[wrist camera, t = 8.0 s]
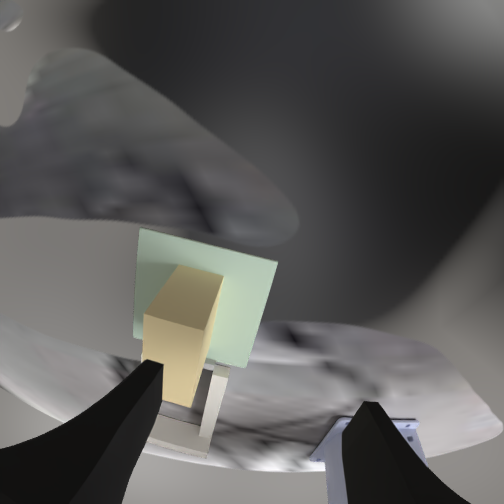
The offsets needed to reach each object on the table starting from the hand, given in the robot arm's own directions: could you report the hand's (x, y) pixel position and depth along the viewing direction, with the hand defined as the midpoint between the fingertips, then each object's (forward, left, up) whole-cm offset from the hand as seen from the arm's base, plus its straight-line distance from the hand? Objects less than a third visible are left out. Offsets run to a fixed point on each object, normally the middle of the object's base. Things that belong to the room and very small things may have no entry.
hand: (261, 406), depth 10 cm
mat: (+4, +3, -10) cm, 12 cm away
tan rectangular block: (+4, +3, -10) cm, 12 cm away
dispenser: (+4, +13, -10) cm, 17 cm away
